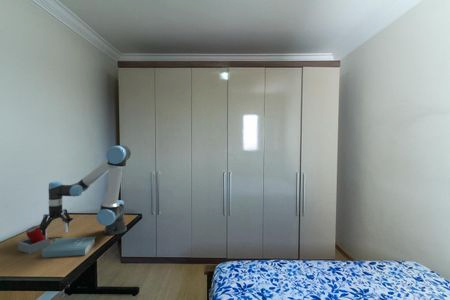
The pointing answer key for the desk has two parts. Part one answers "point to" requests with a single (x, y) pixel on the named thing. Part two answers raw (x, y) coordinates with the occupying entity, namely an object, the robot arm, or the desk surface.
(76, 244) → the book
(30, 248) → the tray
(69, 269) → the desk surface
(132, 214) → the desk surface
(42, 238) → the beverage can
